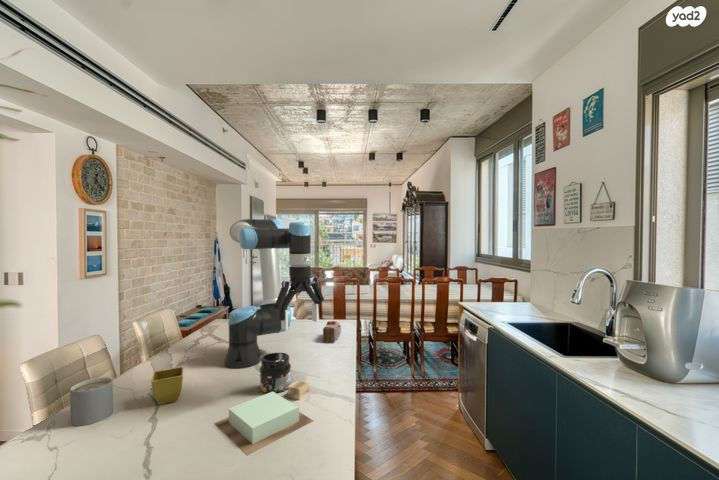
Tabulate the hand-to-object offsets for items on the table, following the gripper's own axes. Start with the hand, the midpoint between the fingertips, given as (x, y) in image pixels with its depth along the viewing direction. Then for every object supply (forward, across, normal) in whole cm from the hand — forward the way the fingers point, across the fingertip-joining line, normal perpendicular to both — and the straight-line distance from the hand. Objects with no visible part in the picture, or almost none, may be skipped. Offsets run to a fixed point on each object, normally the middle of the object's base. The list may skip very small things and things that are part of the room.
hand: (300, 325), depth 115 cm
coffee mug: (+23, -52, +35) cm, 67 cm away
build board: (+22, -22, -11) cm, 33 cm away
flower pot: (+23, -34, +27) cm, 49 cm away
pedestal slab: (+21, -22, -11) cm, 32 cm away
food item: (+24, +46, +33) cm, 61 cm away
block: (+23, -6, -6) cm, 24 cm away
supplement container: (+23, -7, +5) cm, 25 cm away
